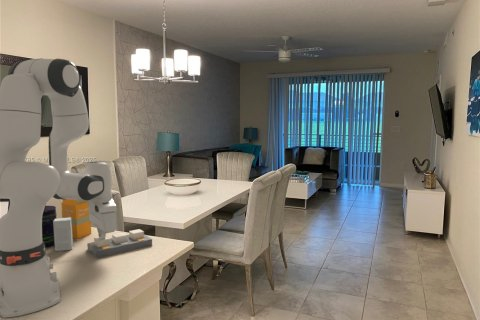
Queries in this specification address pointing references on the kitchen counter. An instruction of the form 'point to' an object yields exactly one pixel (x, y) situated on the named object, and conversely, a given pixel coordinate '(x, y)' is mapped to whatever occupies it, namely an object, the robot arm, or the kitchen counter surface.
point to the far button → (136, 234)
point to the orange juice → (77, 216)
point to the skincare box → (63, 234)
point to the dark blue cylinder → (48, 226)
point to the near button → (101, 242)
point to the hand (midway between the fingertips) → (102, 238)
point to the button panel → (119, 246)
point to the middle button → (119, 238)
